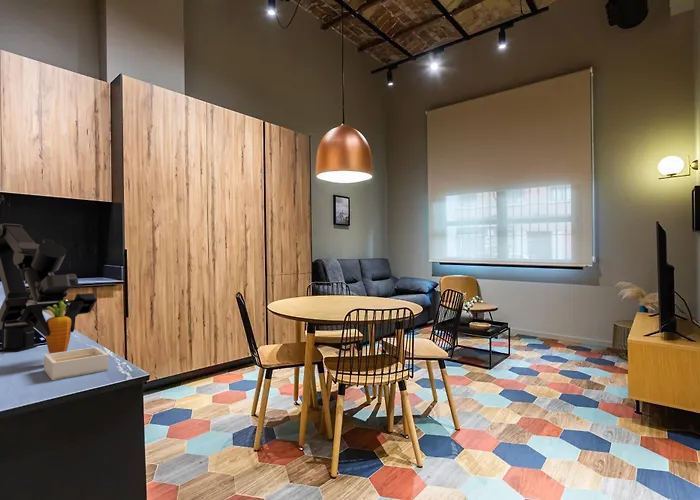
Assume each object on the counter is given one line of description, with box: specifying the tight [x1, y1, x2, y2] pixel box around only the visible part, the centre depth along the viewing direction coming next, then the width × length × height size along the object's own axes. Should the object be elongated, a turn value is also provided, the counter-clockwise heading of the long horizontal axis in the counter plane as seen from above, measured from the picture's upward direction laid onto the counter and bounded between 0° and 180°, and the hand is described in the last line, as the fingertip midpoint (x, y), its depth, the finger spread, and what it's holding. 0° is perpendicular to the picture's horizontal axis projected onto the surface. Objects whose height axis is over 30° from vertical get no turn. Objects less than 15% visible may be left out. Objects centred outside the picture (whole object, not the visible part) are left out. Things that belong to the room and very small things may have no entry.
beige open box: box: [43, 346, 110, 381], centre depth 86 cm, size 10×10×4 cm
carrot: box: [45, 301, 72, 354], centre depth 92 cm, size 5×5×15 cm
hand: (60, 332), depth 91 cm, fingers closed on carrot, 5 cm apart
